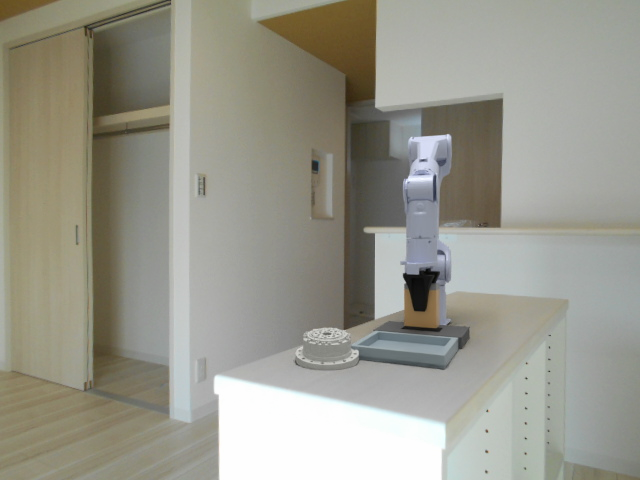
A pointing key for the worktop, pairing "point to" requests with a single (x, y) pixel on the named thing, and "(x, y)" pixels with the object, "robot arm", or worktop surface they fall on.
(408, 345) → the parts tray
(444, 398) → the worktop surface
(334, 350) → the mechanical component
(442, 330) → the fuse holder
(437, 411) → the worktop surface
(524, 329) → the worktop surface
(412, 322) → the orange two-tone block
